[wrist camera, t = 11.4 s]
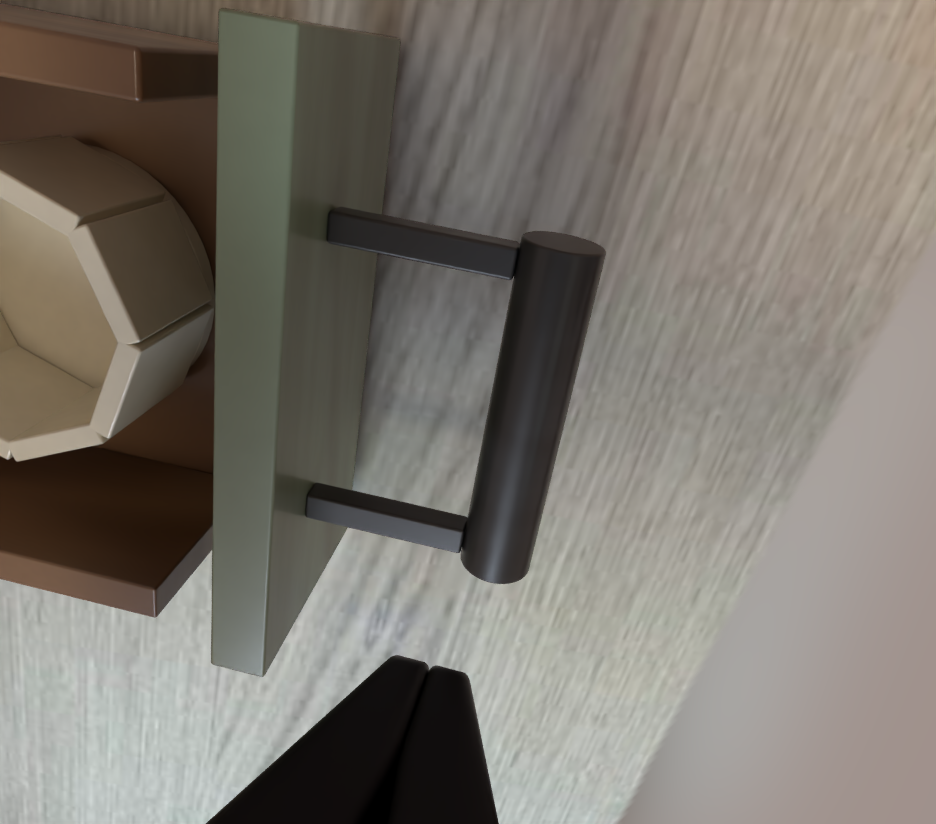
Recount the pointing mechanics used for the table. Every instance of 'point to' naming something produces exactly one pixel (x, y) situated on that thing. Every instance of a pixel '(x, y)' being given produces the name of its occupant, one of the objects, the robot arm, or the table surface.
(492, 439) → the drawer
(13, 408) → the faceted cream cylinder
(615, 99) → the table surface
